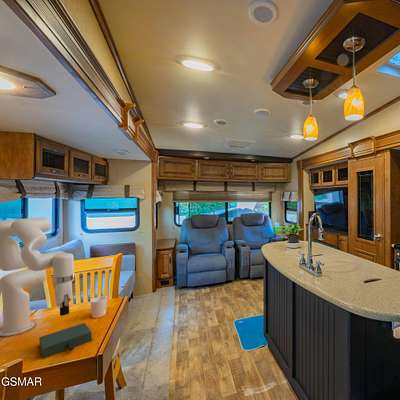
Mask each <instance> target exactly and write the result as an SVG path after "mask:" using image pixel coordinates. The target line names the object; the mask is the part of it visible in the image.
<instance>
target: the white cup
mask: <svg viewBox="0 0 400 400" xmlns="http://www.w3.org/2000/svg"><path fill="white" fill-rule="evenodd" d="M107 309H108V296H105V295H104V296H103V295H101V296H96V297H94V298H92V299H90V312H91V317H92V318H93V319H97V318H101V317H104V316H105V315H107Z"/></svg>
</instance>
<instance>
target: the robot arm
mask: <svg viewBox="0 0 400 400" xmlns="http://www.w3.org/2000/svg"><path fill="white" fill-rule="evenodd" d="M51 227H52V224H51V221H50V220H49V219H48V218H46V217H42V216H41V217H39V216H38V217H30V218H29V217H28V218H17V219H4V220H0V270H1V271H3V272H10V271H11V272H10V273H8V274H5V275H3V276H2V277H0V292H1V299H2V301H1V302H2V316H3V317H2V323H3V325H2V326H3V328H2V329H1V330H0V337H12V336H16V335H20V334H22V333H25V332H27V331H29V330H32V329H33V328H34V327H35V323H36V322H34V321H31V299H30V298H31V297H30V293H29V292H27V291H26V290H24V289H27V288H29V287H33V286H36V285H40V284H42V283H43V282H45V281H46V279H47V271H46V270H47V269H51V268H52V284H53V285H54V291H55V292H54V300H55V302H56V304H57V305H59V316H60V317H63V316H66V315H69V314H70V302H71V301H72V299H73V295H72V294H73V292H72V288H73V287H72V282H73V281H74V280H75V268H74V267H75V266H74V264H75V261H74V254H73V253H69V252H65V251H62V250H58V251H51V252H46V253H41V252H40V251H39V250H37V248H40V247H41V246H43V245H44V244H45V243H46V242H47V241H48V237H47V235H46V233H47V232H49V231H50V230H51V229H52V228H51ZM11 236H16V237H17V238H18V240H19V241H20V242H21V243H22V244H23V247H22V248H21V247H20V246H21V245H20V243H19V242H18V240H16V239H15V238H13V237H11ZM24 268H28V269H24ZM19 269H20V270H19ZM21 269H22V270H21ZM15 270H19V271H15ZM12 271H14V272H12Z"/></svg>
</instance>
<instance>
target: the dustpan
mask: <svg viewBox="0 0 400 400" xmlns="http://www.w3.org/2000/svg"><path fill="white" fill-rule="evenodd" d="M38 341H39V349H40V352H41V355H42V358H43V359H45V358H48V357H51V356H54V355H56V354H60V353H63V352H64V351H67V350H68V352H72V351H74V349H75V348H76V347H78V346H81V345H83V344H84V345H85V344H86V343H89V342H91V341H92V331H91V329H90V328H89V326H88V325H87V324H86V322H83V323H79V324H76V325H73V326H70V327H67V328H64V329H59V330H57V331H54V332H51V333H48V334H45V335H42V336H39V338H38Z"/></svg>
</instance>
